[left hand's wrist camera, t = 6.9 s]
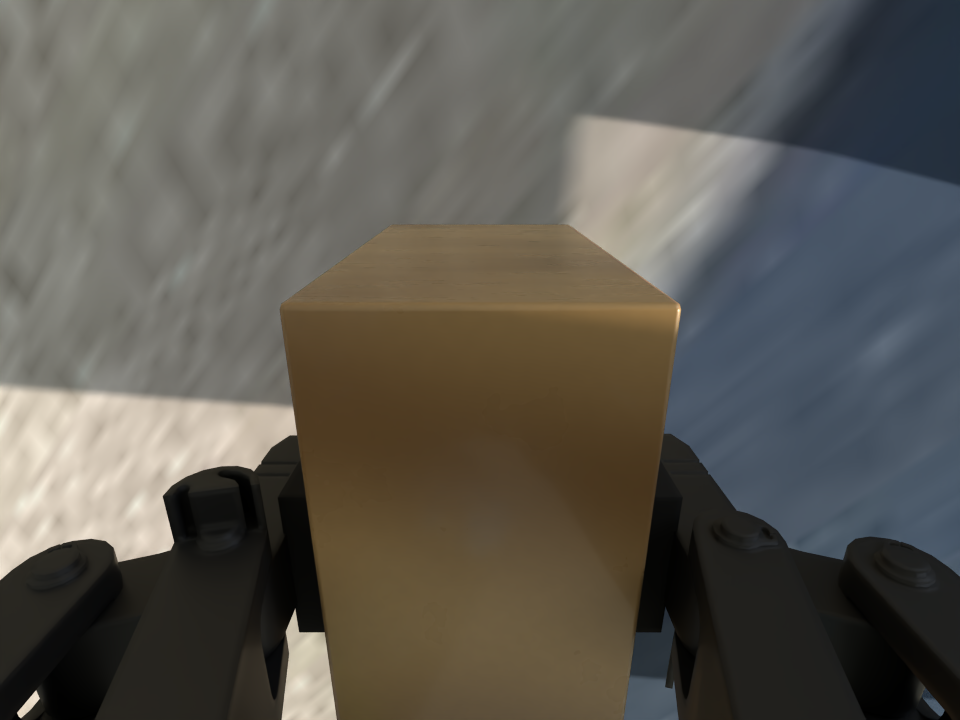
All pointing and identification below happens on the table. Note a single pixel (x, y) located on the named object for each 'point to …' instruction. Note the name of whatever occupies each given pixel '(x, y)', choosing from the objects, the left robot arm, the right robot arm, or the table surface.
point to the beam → (480, 468)
